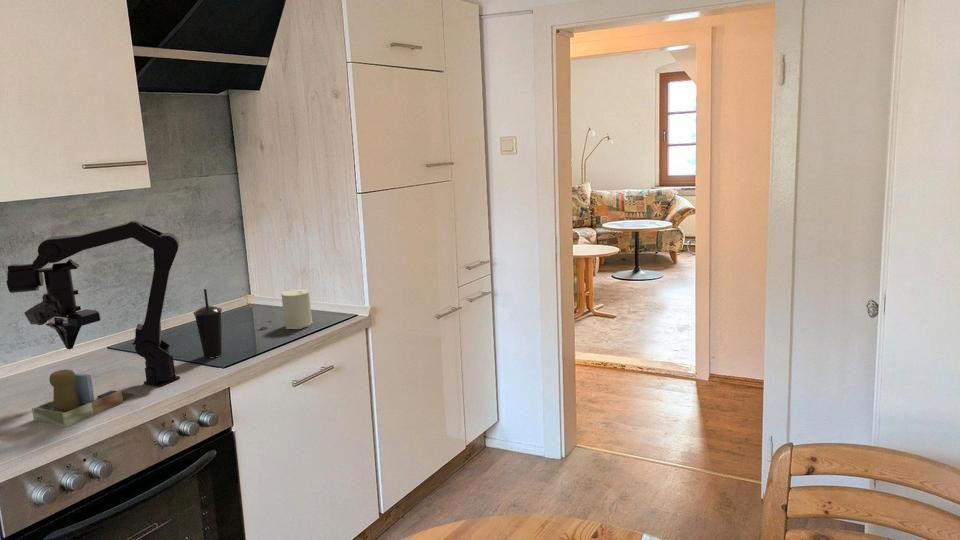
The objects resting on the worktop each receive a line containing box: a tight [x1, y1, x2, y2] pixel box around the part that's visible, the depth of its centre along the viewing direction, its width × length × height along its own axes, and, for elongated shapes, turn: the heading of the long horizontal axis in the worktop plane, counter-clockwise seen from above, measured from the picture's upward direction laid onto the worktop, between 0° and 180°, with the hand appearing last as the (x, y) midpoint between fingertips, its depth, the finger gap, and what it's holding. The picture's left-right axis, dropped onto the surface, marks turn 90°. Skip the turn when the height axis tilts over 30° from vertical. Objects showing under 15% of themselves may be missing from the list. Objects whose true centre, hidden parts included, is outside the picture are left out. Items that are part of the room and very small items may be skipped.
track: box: [31, 390, 124, 427], centre depth 165 cm, size 15×11×3 cm
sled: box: [50, 372, 96, 411], centre depth 163 cm, size 7×8×9 cm
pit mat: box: [97, 390, 135, 401], centre depth 175 cm, size 4×8×1 cm, turn 66°
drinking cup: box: [193, 288, 223, 359], centre depth 202 cm, size 8×8×20 cm
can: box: [280, 288, 313, 327], centre depth 232 cm, size 9×9×12 cm
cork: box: [49, 368, 81, 413], centre depth 162 cm, size 6×6×11 cm
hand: (69, 348), depth 175 cm, fingers closed
